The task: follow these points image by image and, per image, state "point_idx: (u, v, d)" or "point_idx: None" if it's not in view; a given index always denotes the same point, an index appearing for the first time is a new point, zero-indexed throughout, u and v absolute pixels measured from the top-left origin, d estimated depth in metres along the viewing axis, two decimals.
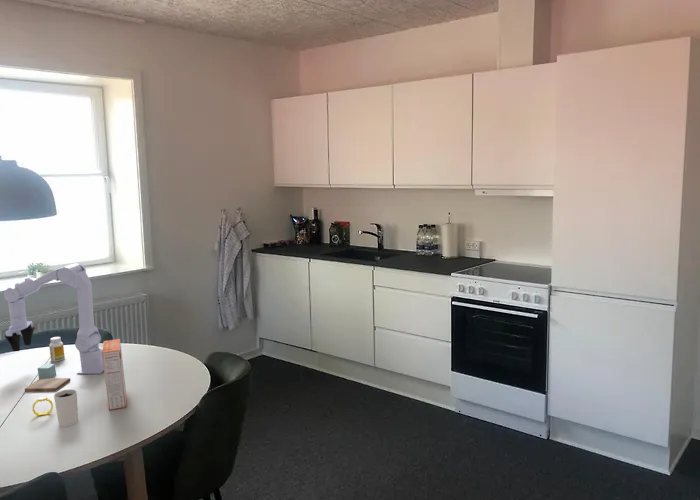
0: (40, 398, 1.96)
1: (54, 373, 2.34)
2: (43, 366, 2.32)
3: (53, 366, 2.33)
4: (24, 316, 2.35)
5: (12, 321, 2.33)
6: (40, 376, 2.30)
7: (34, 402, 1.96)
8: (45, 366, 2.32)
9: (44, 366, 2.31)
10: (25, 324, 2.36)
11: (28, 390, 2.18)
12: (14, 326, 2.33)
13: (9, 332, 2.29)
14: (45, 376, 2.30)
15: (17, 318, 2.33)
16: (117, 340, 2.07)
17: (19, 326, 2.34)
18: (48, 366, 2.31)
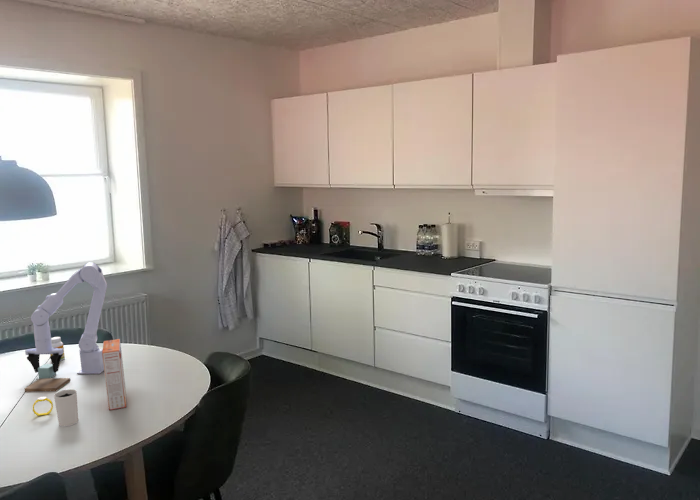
0: (40, 398, 1.96)
1: (54, 373, 2.34)
2: (43, 366, 2.32)
3: None
4: (38, 341, 2.27)
5: None
6: (40, 376, 2.30)
7: (34, 402, 1.96)
8: (45, 366, 2.32)
9: (44, 366, 2.31)
10: (39, 350, 2.28)
11: (28, 390, 2.18)
12: None
13: None
14: (45, 376, 2.30)
15: None
16: (117, 340, 2.07)
17: (36, 349, 2.29)
18: (48, 366, 2.31)
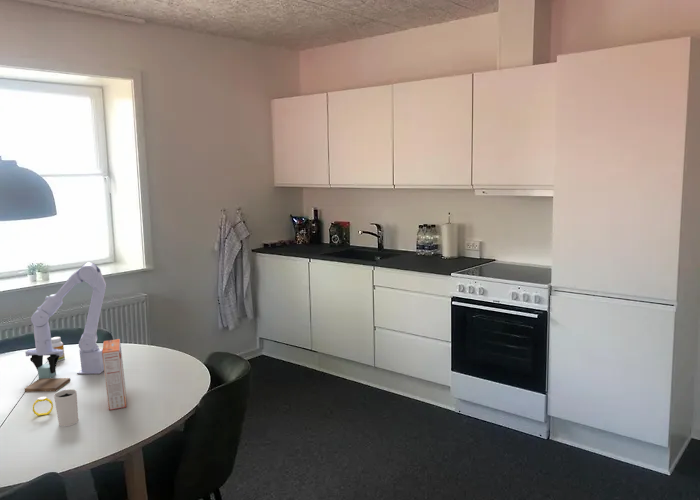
0: (40, 398, 1.96)
1: (54, 373, 2.34)
2: (43, 366, 2.32)
3: None
4: (38, 343, 2.28)
5: None
6: (40, 376, 2.30)
7: (34, 402, 1.96)
8: (45, 366, 2.32)
9: (44, 366, 2.31)
10: (39, 351, 2.28)
11: (28, 390, 2.18)
12: None
13: None
14: (45, 376, 2.30)
15: (35, 342, 2.29)
16: (117, 340, 2.07)
17: (36, 350, 2.29)
18: (48, 366, 2.31)
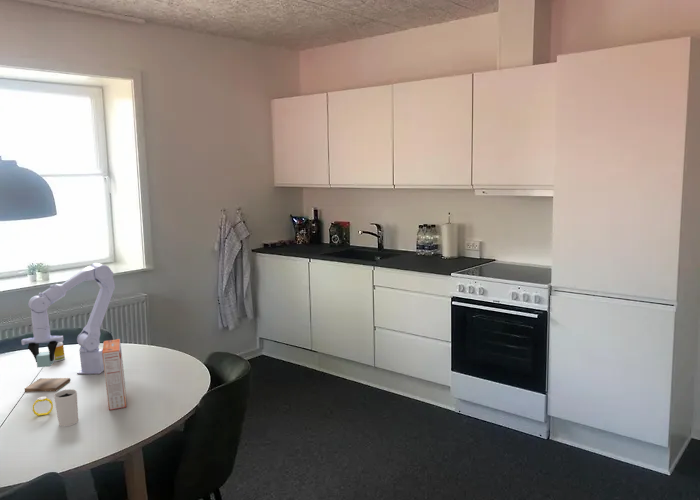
0: (40, 398, 1.96)
1: (52, 361, 2.28)
2: (41, 354, 2.25)
3: None
4: (38, 329, 2.21)
5: None
6: (39, 364, 2.24)
7: (34, 402, 1.96)
8: (43, 354, 2.25)
9: (42, 354, 2.25)
10: (38, 338, 2.22)
11: (28, 390, 2.18)
12: None
13: None
14: (44, 364, 2.24)
15: None
16: (117, 340, 2.07)
17: (34, 338, 2.23)
18: (47, 353, 2.25)
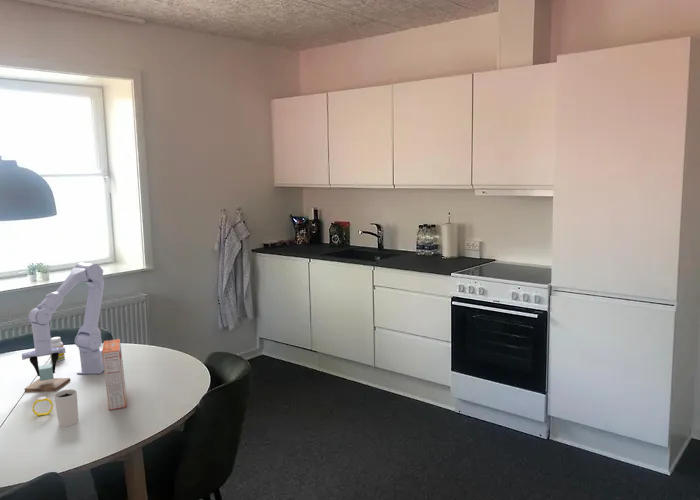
0: (40, 398, 1.96)
1: None
2: (42, 367, 2.20)
3: None
4: (41, 342, 2.17)
5: None
6: (42, 378, 2.19)
7: (34, 402, 1.96)
8: (45, 367, 2.21)
9: (44, 367, 2.20)
10: (42, 351, 2.17)
11: (28, 390, 2.18)
12: (35, 350, 2.19)
13: None
14: (48, 377, 2.20)
15: (34, 342, 2.17)
16: (117, 340, 2.07)
17: (36, 351, 2.18)
18: (48, 366, 2.21)
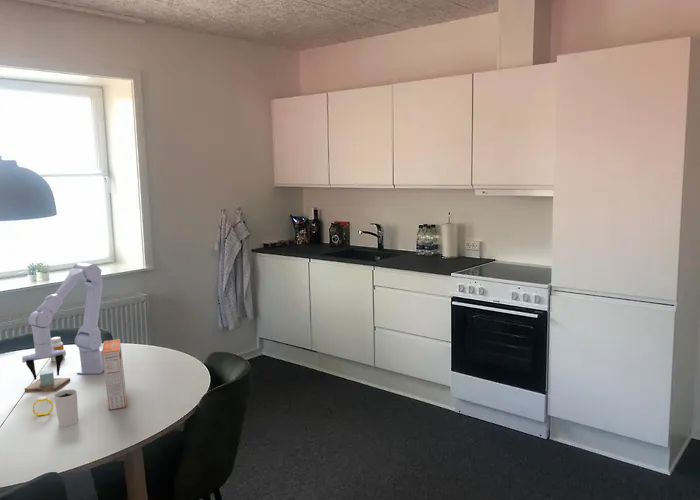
0: (40, 398, 1.96)
1: None
2: (43, 372, 2.21)
3: (52, 371, 2.24)
4: (42, 345, 2.17)
5: None
6: (43, 383, 2.19)
7: (34, 402, 1.96)
8: (45, 372, 2.21)
9: (45, 372, 2.21)
10: (43, 353, 2.18)
11: (28, 390, 2.18)
12: (35, 353, 2.19)
13: (22, 358, 2.17)
14: (49, 382, 2.20)
15: (35, 345, 2.17)
16: (117, 340, 2.07)
17: (36, 354, 2.18)
18: (49, 371, 2.22)
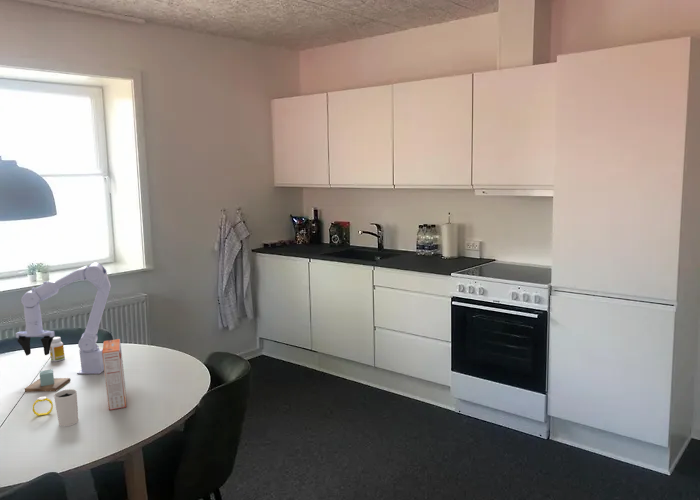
0: (40, 398, 1.96)
1: None
2: (43, 372, 2.21)
3: (52, 371, 2.24)
4: (29, 324, 2.26)
5: None
6: (43, 383, 2.19)
7: (34, 402, 1.96)
8: (45, 372, 2.21)
9: (45, 372, 2.21)
10: (29, 332, 2.26)
11: (28, 390, 2.18)
12: None
13: None
14: (49, 382, 2.20)
15: None
16: (117, 340, 2.07)
17: (26, 332, 2.28)
18: (49, 371, 2.22)
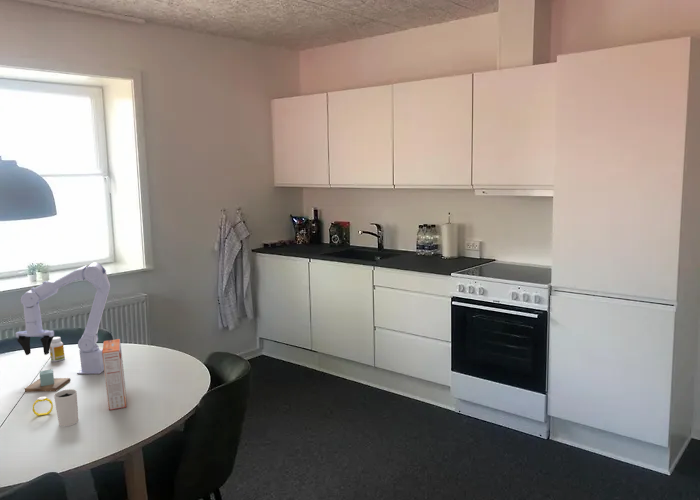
0: (40, 398, 1.96)
1: None
2: (43, 372, 2.21)
3: (52, 371, 2.24)
4: (28, 323, 2.26)
5: None
6: (43, 383, 2.19)
7: (34, 402, 1.96)
8: (45, 372, 2.21)
9: (45, 372, 2.21)
10: (29, 332, 2.27)
11: (28, 390, 2.18)
12: None
13: None
14: (49, 382, 2.20)
15: (25, 323, 2.28)
16: (117, 340, 2.07)
17: (26, 331, 2.28)
18: (49, 371, 2.22)
